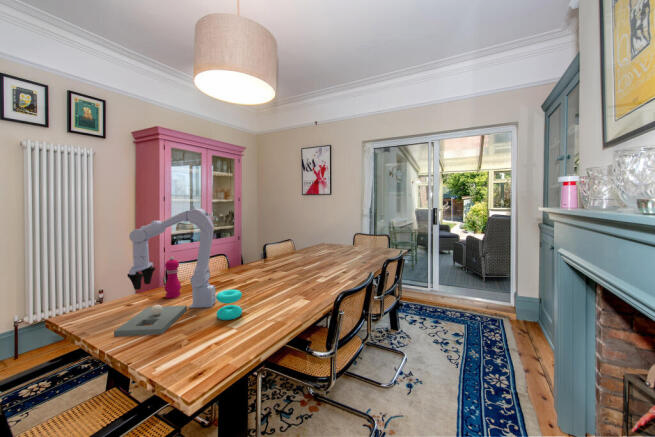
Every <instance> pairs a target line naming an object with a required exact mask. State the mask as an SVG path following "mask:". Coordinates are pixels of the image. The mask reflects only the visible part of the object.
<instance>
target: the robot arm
mask: <svg viewBox="0 0 655 437" xmlns="http://www.w3.org/2000/svg"><path fill="white" fill-rule="evenodd" d="M182 222H190V223H191V224H193V225H195V226H196V227H197V228H199V229H200V231H201V232H200V233H201V234H200V238H199V239H200V240H199V245H198V246H199V247H198V253H197V259H196V265H195V267H194V270H193V275H192V276H190V279H189V280H190V281H189V282H190V284H191V290H192V291H191V292H192V294H191V295H192V304H190V305H189V308H190V309H195V308H212V307H213V305H214V304H215V303H216V302H217V299H216V296H217V293H216V286H215V285H214V284H210V281H209V280H210V278H211V272H210V266H209V262H210V257H211V252H212V251H211V249H212V244H213V237H214V232H215V231H214V229H215V226H214V224H213V222H212V220H211V217H210V213H208V212H207V211H206V210H205V209H204V208H201V207H199V208H192V209H190V210H186V211H182V212H180V213H177V214H175V215H173V216H172V217H170V218H167V219H165V220H163V221H161V220H152V221H151V222H150V223H149V224H146V225H142V226H140V228H135V229H133V230H132V231H131V232H130V233H129V240H130V241H131V242H132V259H133V265H132V266H130V269H129V270H128V273H127V278H128V279H129V280H130V282H131V284H132V286H133V288H134V290H135V291H137V290H141V288H142V280H143V283H144V285H150V284H151V281H152V279H153V278H152V277H153V273H154V272H155V270H156V267H154V262H150V252H149V239H152V238H154V237H156V236H158V235H162V234H163V233H165V232H166V229H167V228H169V227H172V226H174V225H176V224H179V223H182ZM140 272H141V273H140Z"/></svg>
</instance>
